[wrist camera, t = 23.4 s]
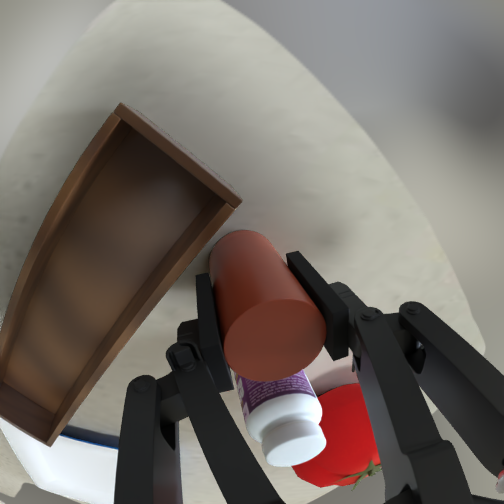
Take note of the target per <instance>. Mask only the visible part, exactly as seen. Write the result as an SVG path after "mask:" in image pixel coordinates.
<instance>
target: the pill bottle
mask: <svg viewBox="0 0 504 504" xmlns="http://www.w3.org/2000/svg"><path fill="white" fill-rule="evenodd" d="M234 374H235V379H236V384H237V389H238V393H239V397H240V402H241V406H242V411H243V415H244V420H245V424H246V428H247V431H248V433H249V435H250V436H251V437H252V438H253V439H254V440H256V441H257V442H259V443H262V450H263V453H264V456H265V459H266V461H267V463H268V464H270V465H272V466H277V467H288V466H293V465H297V464H300V463H303V462H306V461H308V460H310V459H312V458H314V457H315V456H316V455H318V454H319V453H320V452H321V451H322V450H323V449H324V448H325V446H326V439H325V437H324V435H323V432H322V429H321V427H320V426H319V425H318V424H319V422H320V420H321V416H322V408H321V405H320V403H319V401H318V399H317V396H316V394H315V392H314V390H313V388H312V386H311V384H310V382H309V380H308V378H307V376H306V374H305V372H304V370H301V371H300V372H298V373H296V374H294V375H292V376H290V377H287V378H284V379H281V380H276V381H267V382H264V381H254V380H250V379H247V378H244V377H242V376H240V375H238V374H237V373H236V372H234Z"/></svg>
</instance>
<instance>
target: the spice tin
mask: <svg viewBox="0 0 504 504" xmlns="http://www.w3.org/2000/svg"><path fill="white" fill-rule="evenodd" d="M209 269H210V275H211V282H212V288H213V294H214V300H215V306H216V312H217V318H218V324H219V330H220V336H221V342H222V347H223V352H224V356H225V359H226V362H227V364H228V365H229V367H230V368H231V369H232V370H233V371H234V372H236V373H237V374H238V375H240V376H242V377H244V378H247V379H250V380H254V381H264V382H267V381H276V380H281V379H284V378H287V377H290V376H292V375H294V374H296V373H298V372H300V371H301V370H303V369H304V368H306V367H307V366H308V365H309V364H310V363H312V362H313V360H314V359H315V358H316V357H317V356H318V354H319V353H320V351H321V350H322V347H323V345H324V343H325V339H326V322H325V320H324V317H323V315H322V314H321V312H320V311H319V309H318V308H317V307H316V305H315V304H314V302H313V301H312V300H311V298H310V297H309V295H308V294H307V293H306V291H305V290H304V288H303V287H302V286H301V284H300V283H299V281H298V280H297V279H296V277H295V276H294V275H293V273H292V272H291V270H290V269H289V268H288V266H287V265H286V263H285V262H284V261H283V259H282V258H281V257H280V255H279V254H278V252H277V251H276V250H275V248H274V247H273V246H272V244H271V243H270V242H269V240H268V239H267V238H265V237H264V236H263V235H261V234H259V233H257V232H254V231H249V230H240V231H235V232H232V233H230V234H227V235H226V236H224V237H223V238H221V239H220V240H219V241H218V242H217V243H216V245H215V246H214V248H213V250H212V252H211V254H210V258H209Z"/></svg>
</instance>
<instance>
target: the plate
mask: <svg viewBox="0 0 504 504" xmlns="http://www.w3.org/2000/svg"><path fill="white" fill-rule="evenodd" d="M0 428H1V430H2V432H3V433H4V435H5V437H6V439H7V441H8V442H9V444H10V446H11V447H12V449H13V451H14V452H15V454H16V456H17V457H18V459H19V461H20V462H21V464H22V465H23V467H24V468H25V470H26V471H27V473H28V474H29V476H30V477H31V479H32V480H33V481H34V483H35V484H36V485H37V487H39V488H41V489H43V490H46V491H49V492H52V493H56V494H59V495H62V496H65V497H69V498H72V499H76V500H80V501H84V502H88V503H92V504H114V490H115V477H116V466H117V456H118V448H116V447H111V446H106V445H102V444H97V443H93V442H89V441H84V440H80V439H77V438H73V437H69V436H66V435H62V434H60V435H59V436H58V437H57V439H56V440H55V442H54V443H53V445H52V446H51V447H48V446H46V445H45V444H43V443H41V442H39V441H37V440H36V439H34V438H32V437H30V436H29V435H27V434H25V433H24V432H22V431H20V430H19V429H17V428H16V427H14V426H13V425H11V424H9V423H8V422H6V421H5V420H3V419H2V418H0Z"/></svg>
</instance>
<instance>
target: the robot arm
mask: <svg viewBox="0 0 504 504" xmlns="http://www.w3.org/2000/svg"><path fill="white" fill-rule="evenodd" d="M286 258H287V265H288V268H289V269H290V270H291V272H292V273H293V275H294V276H295V277H296V279H297V280H298V281H299V283H300V284H301V286H302V287H303V288H304V290H305V291H306V293H307V294H308V295H309V297H310V298H311V300H312V301H313V302H314V304H315V305H316V307H317V308H318V309H319V311H320V312H321V314H322V315H323V317H324V320H325V322H326V339H325V343H324V347H325V348H326V350H327V352H328V353H329V355H330V356H331V358H332V360H333V361H335V360H338V359H341V358H344V357H346V356H348V351H349V348H350V349H351V351H352V352H353V362H352V372H354V371H355V370H356V373H357V376H358V380H359V383H360V387H361V390H362V394H363V397H364V401H365V404H366V408H367V411H368V415H369V419H370V423H371V426H372V430H373V434H374V438H375V442H376V446H377V450H378V454H379V458H380V462H381V466H382V471H383V475H384V480H385V501H386V502H385V503H384V504H504V501H502V500H497V499H491V498H486V497H481V496H477V495H472V494H471V492H470V489H469V487H468V483H467V480H466V478H465V475H464V472H463V469H462V466H461V464H460V461H459V459H458V456H457V453H456V451H455V448H454V446H453V445H452V443H451V442H450V441H448V440H443V439H442V438H441V436H440V434H439V432H438V430H437V427H436V424H435V422H434V420H433V417H432V415H431V412H430V410H429V408H428V405H427V403H426V401H425V399H424V396H423V394H422V392H421V390H420V387H421V389H422V390H423V391H424V392H425V393H426V395H427V396H428V397H429V398H430V399H431V401H432V402H433V403H434V404H435V405H436V407H437V408H438V409H439V410H440V412H441V413H442V414H443V415H444V416H445V418H446V419H447V420H448V421H449V423H450V424H451V425H452V427H454V429H455V430H456V432H457V433H458V434H459V435H460V437H461V438H462V439H463V440H464V442H465V443H466V444H467V446H468V447H469V448H470V449H471V451H472V452H473V453H474V455H475V456H476V457H477V458H478V460H479V461H480V462H481V463H482V464H483V466H484V467H485V468H486V469H487V470H489V471H490V472H491V473H492V474H493V475H495V476H496V477H497V478H498V482H497V484H496V490H497V492H498V493H504V375H502V374H501V373H500V372H499V371H498V370H497V369H496V368H495V367H494V366H493V365H492V364H491V363H490V362H489V361H488V360H486V359H485V358H484V357H483V356H482V355H481V354H480V353H479V352H478V351H477V350H475V349H474V348H473V347H472V346H471V345H470V344H469V343H468V342H467V341H465V340H464V339H463V338H462V337H461V336H460V335H459V334H457V333H456V332H455V331H454V330H453V329H452V328H450V327H449V326H448V325H447V324H446V323H445V322H443V321H442V320H441V319H440V318H439V317H438V316H436V315H435V314H434V313H433V312H432V311H430V310H429V309H428V308H427V307H426V306H424V305H423V304H421V303H419V302H412V301H410V302H405V303H404V304H402V305H401V306H400V308H399V312H398V313H391V314H383V313H382V312H381V311H380V310H379V309H377V308H373V307H367V306H366V305H365V304H364V303H363V302H362V301H361V300H360V299H359V297H358V296H357V295H355V293H354V292H353V291H351V289H350V288H349V287H348V286H347V285H345V284H343V283H341V282H335V283H332V284H328V283H327V282H326V281H325V280H324V279H323V278H322V277H321V276H320V274H319V273H318V272H317V271H316V270H315V269H314V268H313V267H312V266H311V264H310V263H309V262H308V261H307V260H306V259H305V258H304V257H303V256H302V254H301V253H300V252H299V251H295V252H291V253H287V254H286ZM196 295H197V312H198V319H194V320H189V321H185V322H182V323H181V324H180V326H179V327H178V330H177V336H178V337H177V343H175V344H173V345H171V346H170V347H169V348H168V350H167V351H166V358H167V360H168V363H169V365H170V367H171V369H172V372H170V373H169V374H168V375H166V376H164V377H162V378H159V379H157V380H156V379H155V378H154V377H152V376H150V375H142V376H139V377H136V378H135V379H133V380H132V381H131V382H130V383H129V385H128V387H127V392H126V398H125V404H124V411H123V417H122V424H121V432H120V439H119V448H118V456H117V466H116V477H115V490H114V504H183V498H182V485H181V468H180V448H179V420H182V419H184V418H186V417H188V416H189V418H190V421H191V423H192V426H193V428H194V431H195V433H196V436H197V438H198V441H199V443H200V446H201V448H202V450H203V453H204V455H205V457H206V460H207V462H208V464H209V466H210V469H211V471H212V473H213V475H214V477H215V479H216V481H217V484H218V486H219V488H220V490H221V492H222V494H223V496H224V498H225V500H226V502H227V504H286V503H285V502H284V501H283V500H282V499H281V498H280V496H279V495H278V493H277V492H276V490H275V489H274V487H273V486H272V484H271V483H270V481H269V479H268V478H267V476H266V475H265V473H264V471H263V470H262V468H261V467H260V465H259V463H258V462H257V460H256V458H255V457H254V455H253V453H252V452H251V450H250V448H249V446H248V445H247V443H246V441H245V440H244V438H243V436H242V434H241V433H240V431H239V429H238V427H237V425H236V424H235V422H234V420H233V418H232V416H231V415H230V413H229V411H228V409H227V407H226V405H225V403H224V401H223V400H222V398H221V396H220V394H219V393H221V392H225V391H230V390H234V387H233V382H232V377H231V372H230V367H229V365H228V364H227V362H226V359H225V356H224V352H223V347H222V342H221V336H220V330H219V324H218V318H217V312H216V306H215V300H214V294H213V288H212V284H211V281H210V277H209V273H204V274H200V275H196ZM419 386H420V387H419Z"/></svg>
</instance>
